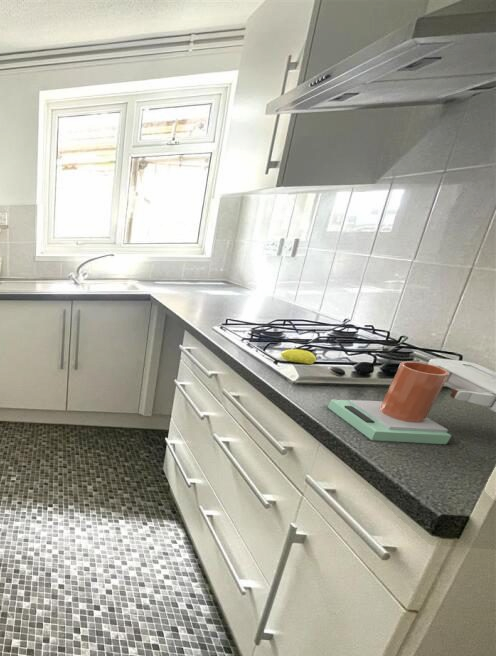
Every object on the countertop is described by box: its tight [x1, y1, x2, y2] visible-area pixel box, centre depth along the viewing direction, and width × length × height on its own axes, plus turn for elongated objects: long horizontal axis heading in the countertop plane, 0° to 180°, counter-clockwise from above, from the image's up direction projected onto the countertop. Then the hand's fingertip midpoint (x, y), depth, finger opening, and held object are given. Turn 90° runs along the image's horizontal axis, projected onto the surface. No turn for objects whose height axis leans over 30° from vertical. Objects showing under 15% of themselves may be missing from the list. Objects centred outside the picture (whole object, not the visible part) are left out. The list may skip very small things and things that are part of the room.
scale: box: [327, 399, 452, 445], centre depth 83 cm, size 13×13×3 cm
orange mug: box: [380, 360, 449, 423], centre depth 80 cm, size 7×7×10 cm
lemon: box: [280, 348, 317, 365], centre depth 114 cm, size 4×8×4 cm, turn 58°
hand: (434, 383), depth 79 cm, fingers open, 8 cm apart
